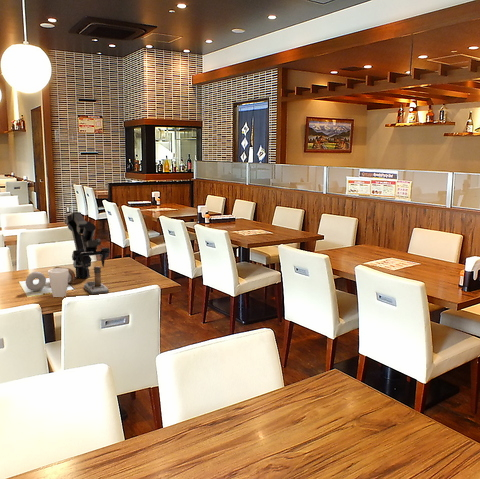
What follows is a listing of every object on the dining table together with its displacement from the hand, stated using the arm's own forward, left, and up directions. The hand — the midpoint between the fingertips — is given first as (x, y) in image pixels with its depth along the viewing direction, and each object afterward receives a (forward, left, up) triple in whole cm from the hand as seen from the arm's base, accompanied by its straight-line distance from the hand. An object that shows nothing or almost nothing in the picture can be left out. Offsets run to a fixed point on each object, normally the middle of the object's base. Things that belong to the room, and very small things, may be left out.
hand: (94, 267), depth 249 cm
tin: (-23, +8, -12) cm, 27 cm away
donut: (-28, -9, -12) cm, 31 cm away
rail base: (+1, -1, -12) cm, 12 cm away
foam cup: (-12, -15, -12) cm, 22 cm away
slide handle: (+3, -4, -10) cm, 12 cm away
